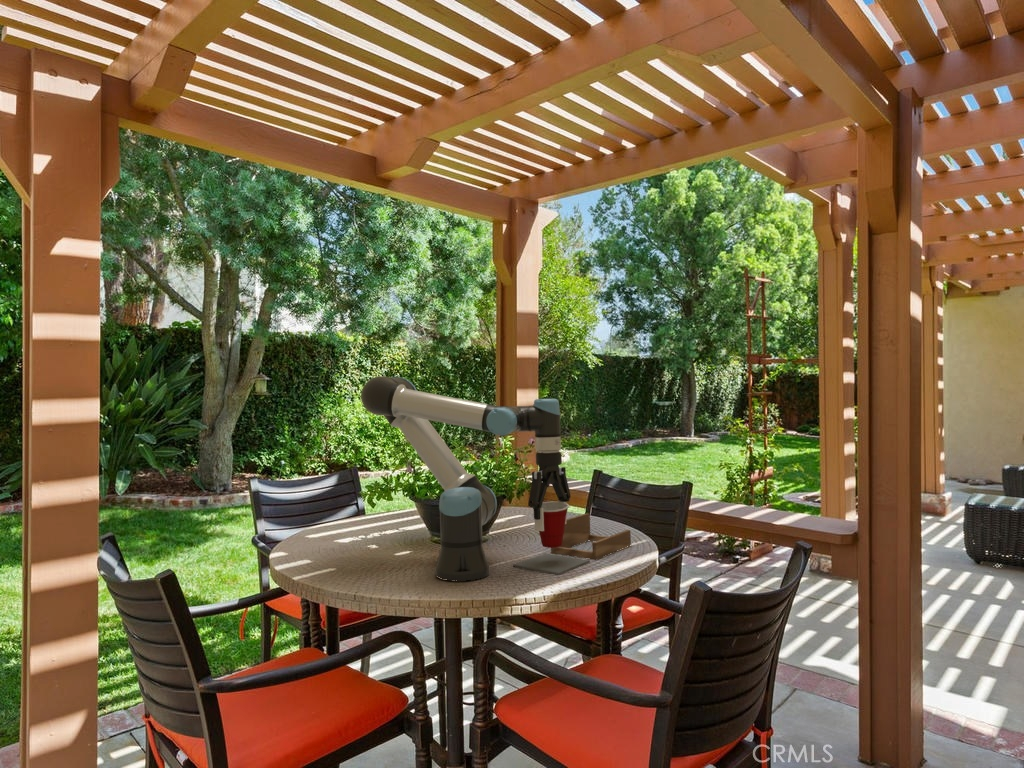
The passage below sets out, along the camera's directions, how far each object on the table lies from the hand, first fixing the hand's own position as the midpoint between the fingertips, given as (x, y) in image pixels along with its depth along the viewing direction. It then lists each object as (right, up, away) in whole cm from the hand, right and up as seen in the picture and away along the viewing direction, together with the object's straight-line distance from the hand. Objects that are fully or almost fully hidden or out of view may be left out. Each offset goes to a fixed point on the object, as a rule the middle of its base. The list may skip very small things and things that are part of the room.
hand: (551, 527), depth 190 cm
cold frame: (+14, -11, +17) cm, 24 cm away
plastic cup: (0, -6, 0) cm, 6 cm away
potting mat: (0, -11, 0) cm, 11 cm away
